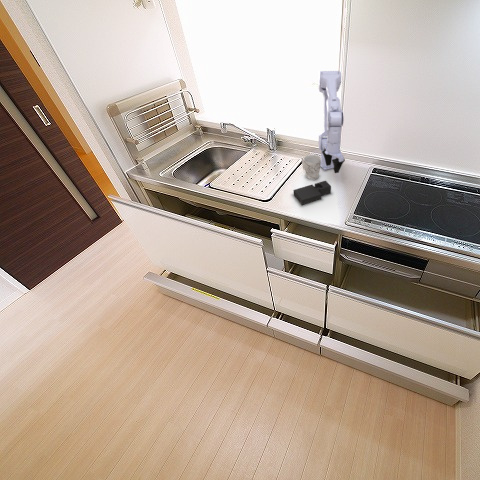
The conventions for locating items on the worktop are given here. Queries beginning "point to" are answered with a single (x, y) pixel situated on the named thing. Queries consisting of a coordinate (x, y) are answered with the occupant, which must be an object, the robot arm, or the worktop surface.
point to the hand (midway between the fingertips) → (332, 168)
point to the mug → (311, 166)
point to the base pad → (307, 194)
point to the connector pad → (324, 188)
